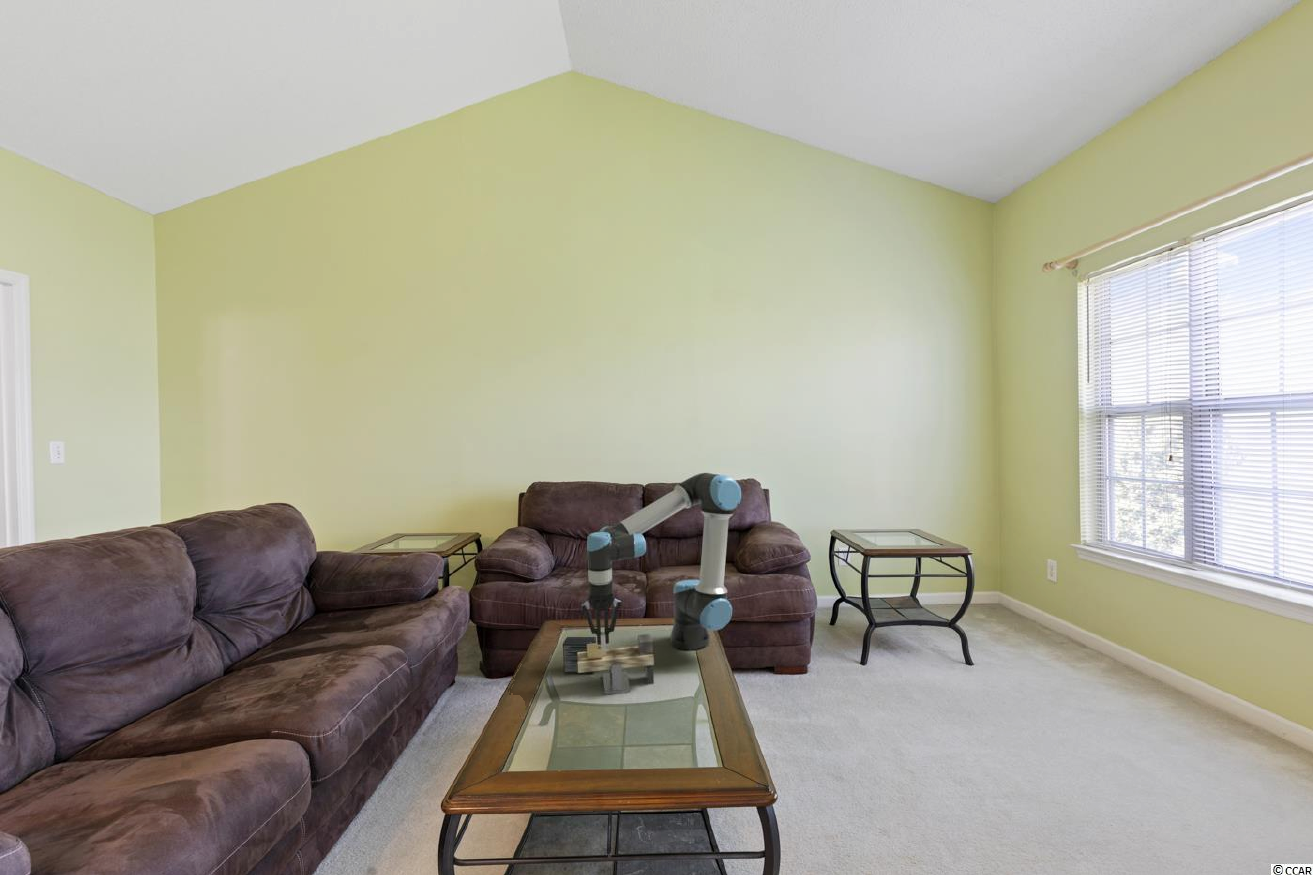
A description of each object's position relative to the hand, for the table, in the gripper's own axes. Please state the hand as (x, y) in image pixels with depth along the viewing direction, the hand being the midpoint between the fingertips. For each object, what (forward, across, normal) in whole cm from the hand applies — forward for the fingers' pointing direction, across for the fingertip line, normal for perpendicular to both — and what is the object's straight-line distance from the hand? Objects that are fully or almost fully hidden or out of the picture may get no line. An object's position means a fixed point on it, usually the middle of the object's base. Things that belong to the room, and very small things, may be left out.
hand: (603, 653), depth 177 cm
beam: (+3, -4, 0) cm, 5 cm away
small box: (+11, +7, -13) cm, 18 cm away
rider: (+2, +3, 0) cm, 4 cm away
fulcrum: (+11, -8, 0) cm, 13 cm away
